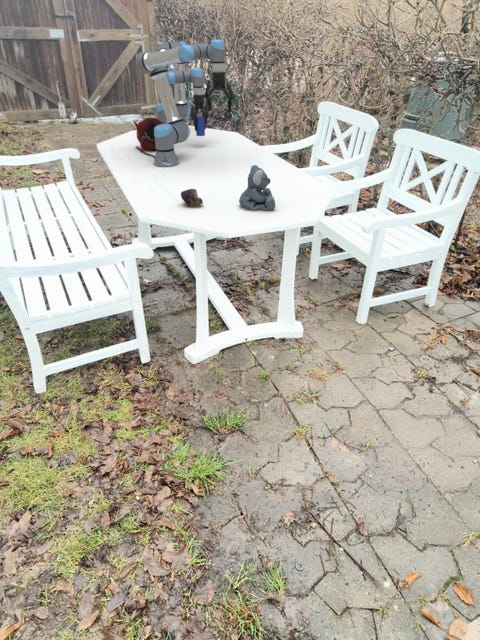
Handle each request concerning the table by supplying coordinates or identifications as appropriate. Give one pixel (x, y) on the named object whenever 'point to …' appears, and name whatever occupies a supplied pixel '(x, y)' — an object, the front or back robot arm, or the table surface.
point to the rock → (191, 197)
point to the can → (200, 126)
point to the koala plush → (257, 191)
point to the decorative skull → (147, 133)
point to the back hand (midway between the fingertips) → (200, 129)
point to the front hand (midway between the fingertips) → (219, 111)
